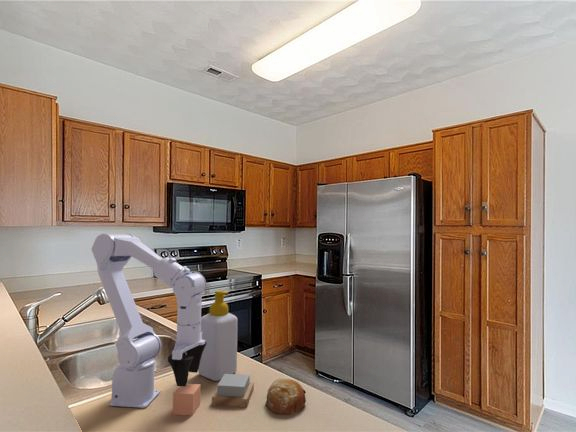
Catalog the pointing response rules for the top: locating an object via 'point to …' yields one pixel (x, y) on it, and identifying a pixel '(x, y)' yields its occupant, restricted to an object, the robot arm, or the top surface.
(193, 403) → the terracotta cube
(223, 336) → the soap bottle
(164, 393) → the top surface
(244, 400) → the walnut slab
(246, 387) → the grey slab
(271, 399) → the bread roll
